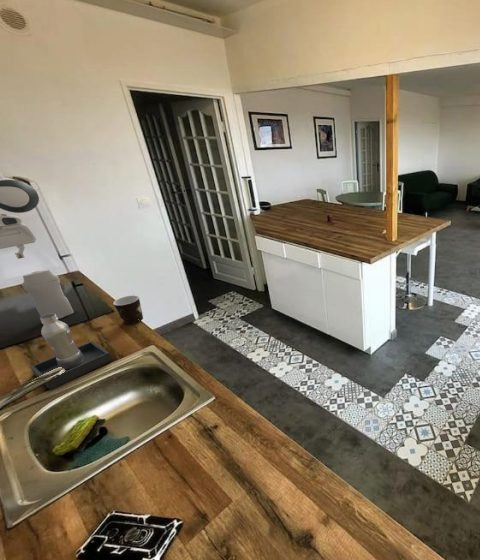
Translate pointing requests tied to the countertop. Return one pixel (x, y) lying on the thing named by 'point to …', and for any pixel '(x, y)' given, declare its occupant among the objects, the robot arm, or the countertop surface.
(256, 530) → the countertop surface
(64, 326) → the plastic bottle
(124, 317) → the coffee mug
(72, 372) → the dark blue tray
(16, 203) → the robot arm
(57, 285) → the grey tall flat block
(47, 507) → the countertop surface
